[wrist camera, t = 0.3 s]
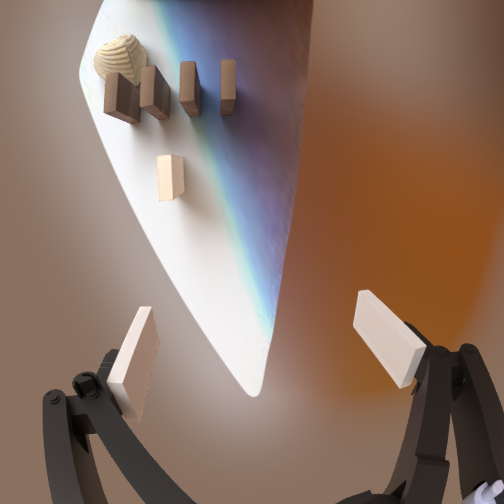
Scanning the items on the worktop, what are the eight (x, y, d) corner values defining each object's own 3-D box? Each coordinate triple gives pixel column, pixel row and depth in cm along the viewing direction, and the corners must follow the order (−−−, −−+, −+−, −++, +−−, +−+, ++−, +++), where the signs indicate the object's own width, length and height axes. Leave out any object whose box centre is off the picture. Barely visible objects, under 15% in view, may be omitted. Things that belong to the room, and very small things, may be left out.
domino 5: (220, 115, 35) (220, 99, 26) (220, 83, 33) (221, 59, 24) (231, 115, 35) (235, 99, 26) (231, 83, 34) (235, 59, 24)
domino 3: (173, 192, 38) (158, 201, 28) (172, 158, 36) (156, 156, 27) (184, 191, 38) (173, 200, 28) (183, 157, 36) (171, 154, 27)
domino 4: (189, 116, 35) (179, 101, 25) (189, 85, 33) (180, 62, 24) (200, 116, 35) (193, 100, 25) (200, 84, 33) (194, 60, 24)
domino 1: (129, 123, 34) (103, 112, 24) (130, 92, 32) (106, 74, 23) (139, 122, 34) (115, 110, 24) (140, 91, 32) (118, 71, 23)
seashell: (133, 21, 26) (154, 30, 24) (139, 61, 34) (160, 76, 32) (84, 42, 24) (97, 53, 22) (96, 82, 31) (111, 100, 30)
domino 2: (158, 119, 34) (139, 106, 25) (159, 88, 32) (141, 67, 23) (169, 118, 34) (153, 104, 25) (170, 87, 33) (155, 65, 23)
